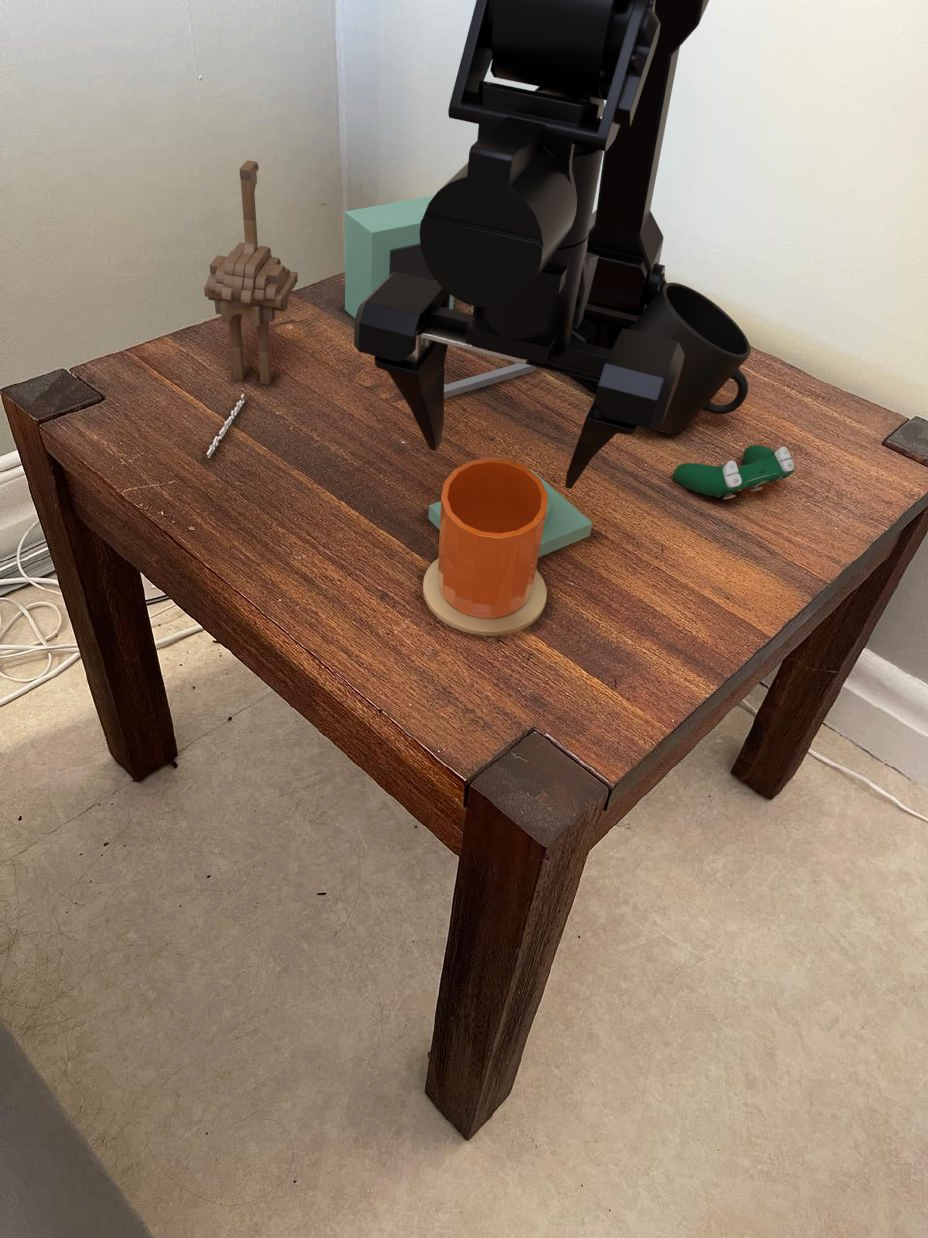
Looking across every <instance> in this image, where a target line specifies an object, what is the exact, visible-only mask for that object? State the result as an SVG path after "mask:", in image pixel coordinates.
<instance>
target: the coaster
mask: <svg viewBox="0 0 928 1238" xmlns="http://www.w3.org/2000/svg"><path fill="white" fill-rule="evenodd" d="M438 560H439V557H437V559H435V560H434V561H433V562H432V563H431V564H430V565H429V567H427V570H426V571H425V574H424V577H423V581H422V593H423V598H424V601H425V603H426V605H427V606H428V609H430V611H431V612H432V613H433V614H434V615H435V617H436V618H438V619H439V620H440V621H442V622H443V623H445V624H446V625H448V626H449V627H452V628H453V629H456V630H458V631H462V632H464V633H467V634H472V635H477V636H487V637H488V636H489V637H492V636H493V637H495V636H503V635H504V636H505V635H510V634H513V633H517V632H519V631H522V630H523V629H526V628H527V627H529V626H531V625H532V624H534V623H535V622H536V620H538V619H539V618H540V616H541V615H542V613H543V612H544V610H545V607H546V603H547V595H548V593H547V586H546V584H545V583H546V582H545V580H544V579H543V576H542V575H541V573H540V572H539V571H538V570H537V569H536V572H535V578H534V583H533V588H532V591H531V594H530V596H529V598H528V600H527V601H526V602H525V603H524V604H523V605H522V606H521V607H520V608H519V609H518V610H516V611H515V612H513V613H511V614H509V615H506V616H503V617H499V618H492V619H484V618H476V617H472V616H469V615H466V614H464V613H462V612H460V611H458V610H457V609H455V608H454V607H453V606H451V605H450V604H449V603H448V601H447V600H446V599H445V598H444V596H443V594H442V592H441V590H440V587H439V581H438Z"/></svg>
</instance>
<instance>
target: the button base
mask: <svg viewBox="0 0 928 1238" xmlns="http://www.w3.org/2000/svg"><path fill="white" fill-rule="evenodd" d="M529 469H530V470H531V471H532V472H533V473H534V474H535V475H536V476H537V477H538V478H540V479H541V481H542V483H543V485H544V488H545V490H546V492H547V494H548V501H547V511H546V517H545V522H544V528H543V533H542V539H541V544H540V550H539V556H538V558H540V557H542V556H546V555H548V554H549V553H553V552H555V551H557V550H560V549H562V548H564V547H567V546H569V545H571V544H574V543H576V542H580V540H584V539H586V538H588V537H590V536H591V533H592V529H593V524H594V523H593V521H591V520H590V518H588V517H587V516H586V515H584V513H582V512H581V511H580V510H578V509H577V508H576V507H575V506H574V505H573V504H572V503H571V502H569V501H568V500H567V499H566V497H564V496H563V495H562V494H560V493H559V491H557V490H556V489H554V488H553V487H552V486H551V485H550V484H549V483H548V482H547V481H545V480H544V479H543V478H542V477H541V476H539V474H537V473H536V472H535V471H534V470H533V469H532V468H529ZM440 515H441V500H440V501H437V502H434V503H431V504H429V505H428V516H427V517H428V520H429V521H430V522H431V523H432V524H433V525H434V526H435V527H436V528H437V529H438V530H439V531H440Z"/></svg>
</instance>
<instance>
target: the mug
mask: <svg viewBox="0 0 928 1238" xmlns="http://www.w3.org/2000/svg"><path fill="white" fill-rule="evenodd" d="M630 330H631V331H635V332H639V333H643V334H647V335H651V336H655V337H659V338H663V339H667V340H671V341H675V342H679V344H680V346H681V348H682V350H683V352H684V354H685V358H684V362H683V366H682V370H681V373H680V377H679V381H678V384H677V387H676V389H675V392H674V395H673V397H672V400H671V402H670V405H669V408H668V410H667V413H666V416H665V418H664V421H663V423H662V426H661V427H658V428H653V429H654V430H655V431H659V432H661V433H664V434H671V435H673V434H678V433H682V431H685V430H686V429H687V427H689V426H690V424H691V423H692V422H693V421H694V419H696V418H697V416H698V415H699V414H700V413H701V411H703V412H708V413H710V414H713V415H726V414H729V413H733V412H735V410H737V409H738V408H740V407H741V406H742V405H743V403H744V401H745V400H746V398H747V396H748V392H749V383H748V379H747V377H746V375H745V374H744V373H743V372H742V371H741V367H742V365H744V363H745V362H746V361H747V360H748V358H749V357H750V356H751V352H752V348H751V344H750V342H749V339H748V338H747V336H746V335H745V333H744V331H743V330H742V329H741V327H740V326H739V325H738V324H737V323H736V321H734V319H733V318H732V317H731V316H730V315H729V314H728V313H727V312H725V311H724V310H723V309H722V308H721V307H720V306H718V305H717V304H716V303H715V302H714V301H712V300H711V299H709V298H708V297H707V296H706V295H704V294H703V293H700V292H698V291H697V290H695V289H693V288H692V287H689V286H687V285H684V284H682V283H678V282H674V281H673V282H671V281H670V282H667V283H666V284H665V285H663V286H662V288H661V289H660V290H659V292H658V293H657V294H656V296H655V297H654V298H653V299H652V301H651V302H650V303H649V305H648V306H647V307H646V309H645V310H644V311H643V313H642V314H641V315H640V316H639V318H638V319H637V320H636V322H635V323H634V324H633V326H632V327H631V328H630ZM729 380H732V381H734V382H735V383H736V385H737V394H736V395H735V397H734V398H733V400H731V401H730V402H728V403H725V404H716V403H713V402H712V401H713V400H712V399H713V398H714V397H715V396H716V395H717V394H718V392H719V391H720V390H721V388H723V387H724V385H726V383H727V382H728V381H729Z"/></svg>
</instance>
